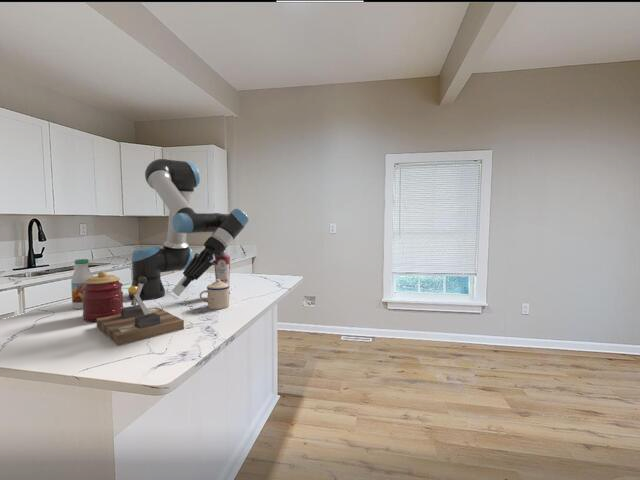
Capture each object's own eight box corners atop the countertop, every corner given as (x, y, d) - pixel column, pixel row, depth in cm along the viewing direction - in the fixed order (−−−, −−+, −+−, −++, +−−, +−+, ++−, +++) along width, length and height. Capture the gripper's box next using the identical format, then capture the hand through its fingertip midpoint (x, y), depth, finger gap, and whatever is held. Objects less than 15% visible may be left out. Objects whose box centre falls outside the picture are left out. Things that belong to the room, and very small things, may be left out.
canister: (128, 310, 133) (126, 267, 132) (117, 321, 120) (114, 273, 119) (91, 312, 130) (89, 268, 129) (76, 323, 117) (73, 274, 116)
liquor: (231, 293, 162) (230, 237, 160) (230, 297, 155) (229, 238, 153) (215, 294, 160) (214, 237, 158) (214, 298, 153) (213, 238, 151)
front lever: (140, 315, 108) (125, 288, 104) (148, 310, 110) (134, 283, 106) (143, 317, 106) (128, 289, 102) (152, 312, 108) (137, 284, 104)
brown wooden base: (96, 327, 114) (96, 311, 113) (157, 314, 128) (156, 300, 128) (117, 345, 98) (117, 326, 98) (183, 328, 113) (183, 312, 112)
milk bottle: (68, 308, 136) (65, 260, 134) (87, 303, 143) (85, 257, 141) (80, 310, 133) (77, 261, 131) (99, 305, 140) (97, 258, 139)
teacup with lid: (228, 302, 146) (227, 276, 145) (231, 308, 137) (230, 280, 137) (199, 305, 141) (198, 278, 140) (200, 311, 133) (199, 283, 132)
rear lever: (127, 303, 118) (138, 275, 120) (135, 305, 120) (146, 276, 122) (130, 305, 116) (141, 276, 118) (138, 306, 118) (149, 278, 120)
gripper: (233, 250, 123) (191, 302, 112) (216, 247, 132) (175, 296, 121) (220, 236, 119) (175, 290, 108) (203, 235, 128) (159, 284, 117)
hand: (175, 293), depth 115 cm, fingers closed
